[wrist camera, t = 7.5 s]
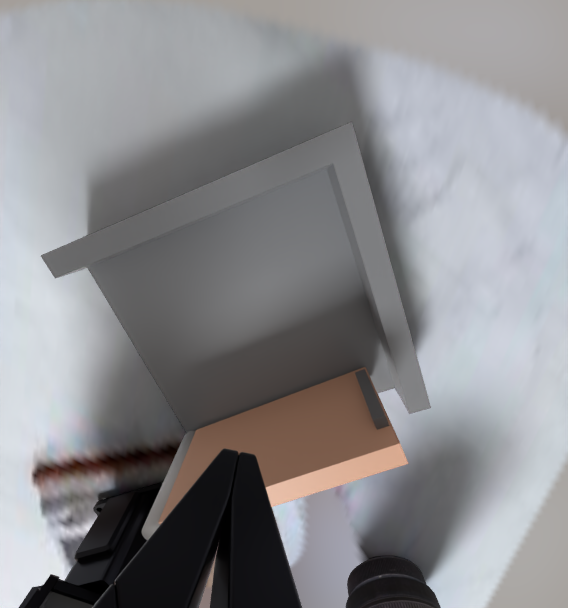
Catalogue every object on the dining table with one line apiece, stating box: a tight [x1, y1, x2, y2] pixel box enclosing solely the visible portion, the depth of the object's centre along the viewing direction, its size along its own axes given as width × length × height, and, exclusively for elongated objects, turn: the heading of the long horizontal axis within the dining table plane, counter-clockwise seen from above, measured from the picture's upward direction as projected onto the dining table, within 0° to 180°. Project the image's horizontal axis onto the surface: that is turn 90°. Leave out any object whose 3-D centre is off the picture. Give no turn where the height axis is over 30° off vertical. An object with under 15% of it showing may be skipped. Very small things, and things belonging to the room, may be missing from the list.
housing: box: [41, 122, 431, 433], centre depth 15 cm, size 16×16×8 cm
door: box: [142, 367, 408, 540], centre depth 17 cm, size 13×2×6 cm, turn 114°
